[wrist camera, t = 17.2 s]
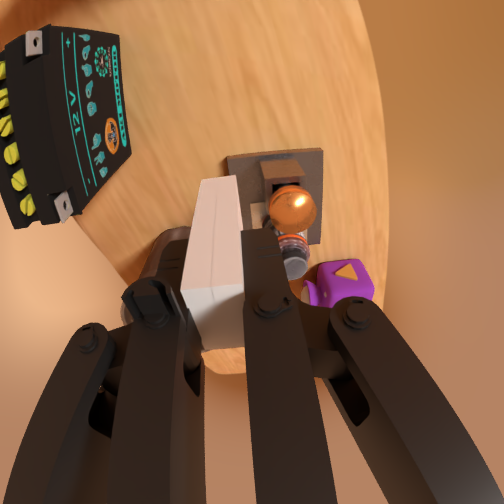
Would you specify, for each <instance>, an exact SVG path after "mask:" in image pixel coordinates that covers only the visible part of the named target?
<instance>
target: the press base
mask: <svg viewBox="0 0 504 504" xmlns="http://www.w3.org/2000/svg"><path fill="white" fill-rule="evenodd" d="M227 163H228V170H229V176H231V175H236V180H237V187H238V195H239V202H240V209H241V217H242V224H243V230H251V229H259V228H262V223H263V220H264V218H265V217H266V216H267V215H270V214H269V210H268V203H269V200H270V198H271V196H272V195H273V194H274V192H275V190H274V186H275V184H281V183H291V184H292V185H296V186H300V187H302V188H304V189H305V190H307V191H308V193H309V194H310V196H311V198H312V199H313V201H314V203H315V205H316V209H317V214H316V218H315V220H314V222H313V224H312V225H311V226H310V227H309V228H308V229H306V230H304V231H303V233H304V236H305V239H306V241H307V244H308V245H313V244H320V238H321V219H322V194H323V150H322V149H321V148H307V149H292V150H280V151H268V152H258V153H249V154H241V155H233V156H227Z"/></svg>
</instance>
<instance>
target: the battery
mask: <svg viewBox="0 0 504 504" xmlns="http://www.w3.org/2000/svg"><path fill="white" fill-rule="evenodd" d="M131 154H132V152H131V146H130V139H129V133H128V126H127V119H126V111H125V103H124V94H123V84H122V73H121V59H120V39H119V35H117V34H112V33H106V32H101V31H94V30H88V29H80V28H72V27H61V26H51V24H48V25H46V26H44V27H42V28H40V29H39V30H37V31H27V32H26V34H24V35H21V36H19V37H18V38H16V39H14V40H13V41H11V42H10V43H8V44H7V45H5V50H3V51H2V52H0V193H1V197H2V199H3V202H4V205H5V208H6V210H7V213H8V215H9V217H10V220H11V223H12V225H13V227H14V229H21V228H27V227H28V226H29V225H30V224H31V223H32V222H34V221H41V224H42V225H48V224H55V223H59V222H60V221H61V222H62V223H65V221H66V220H67V219H68V217H69V216H74V215H81V214H82V210H83V209H84V208H85V207H86V205H87V204H88V203H89V202H90V200H91V199H92V198H93V197H94V196H95V194H96V193H97V192H98V191H99V190H100V188H101V187H102V186H103V185H104V184H105V183H106V182H107V180H108V179H109V178H110V177H111V176H112V175H113V174H114V173H115V172H116V170H117V169H118V168H119V167H120V166H121V165H122V164H123V163H124V162H125V161H126V160H127V159H128V158H129V157H130V156H131Z"/></svg>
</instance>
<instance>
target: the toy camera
mask: <svg viewBox="0 0 504 504" xmlns="http://www.w3.org/2000/svg"><path fill="white" fill-rule="evenodd" d="M373 294H374V285H373V283H372V281H371V279H370V277H369V275H368V273H367V271H366V269H365V267H364V265H363V264H362V262H361V261H360V260H359V259H348V260H340V261H332V262H325V263H322V264H320V265H319V267H318V272H317V280H316V285H315V284H313V283H312V282H310V281H308V280H304V282H303V289H302V291H301V300H302V302H304V303H307V304H309V305H314V306H318V305H319V306H320V307H329V308H332V307H333V306H334V304H335V303H336V302H337V301H339V300H341V299H342V298H345V297H350V296H358V297H364V298H366V299H369V300H371V301H372V298H373Z"/></svg>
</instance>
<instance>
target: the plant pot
mask: <svg viewBox="0 0 504 504" xmlns="http://www.w3.org/2000/svg"><path fill="white" fill-rule="evenodd" d="M190 232H191V227H180V228H176V229H169V230H167V231H165V232H163V233H162V234H161V235H160V236H159V237H158V238H157V240H156V241H155V243H154V246H153V248H152V250H151V252H150V255H149V257H148V259H147V261H146V263H145V266H144V268H143V270H142V272H141V274H140V277H139V279H142V278H146V277H150V276H153V277H155V275H156V271H157V268H158V264H159V263H160V261H159V260H160V257H161V253H162V250H163V249H164V248H165V247H166V245H167V244H168V243H169V242H170V241H173V240H180V239H188V238H189V237H190ZM139 279H138V280H139ZM138 280H137V281H138ZM121 318H122V321H123V324H124V326H125V325H128V324H130V323H132V322H133V320H134V319H133V317H132V315H131V314H130V312H129V310H128V309H127V307H126V305H125V304H124V302H123V303H122V306H121ZM207 351H210V350H205V349H204V346H203V344H202V343H201V353H203V352H207Z"/></svg>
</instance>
